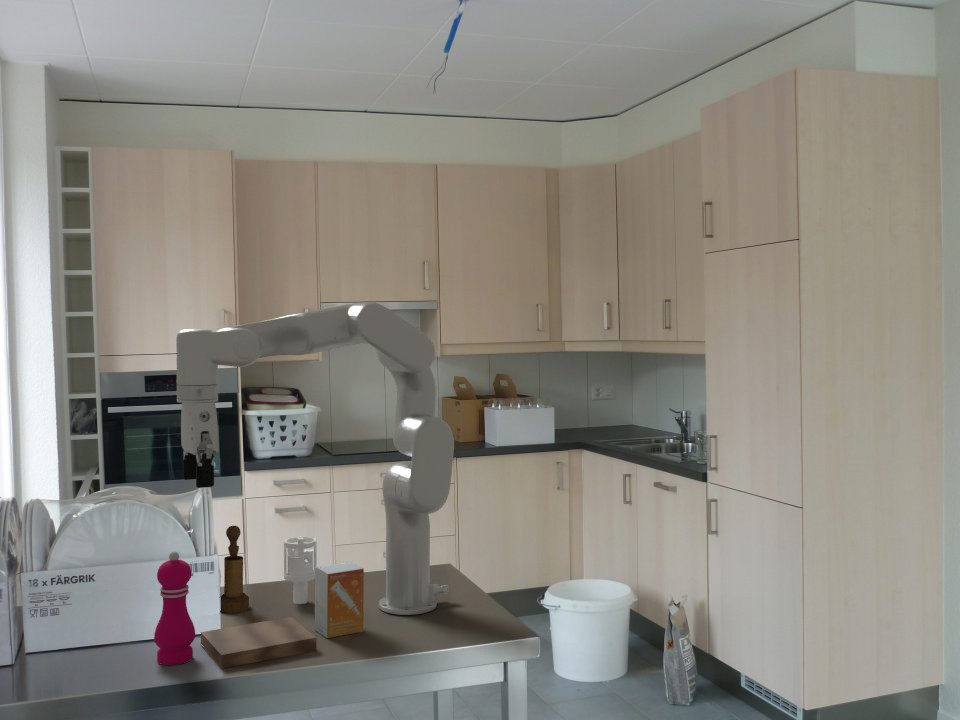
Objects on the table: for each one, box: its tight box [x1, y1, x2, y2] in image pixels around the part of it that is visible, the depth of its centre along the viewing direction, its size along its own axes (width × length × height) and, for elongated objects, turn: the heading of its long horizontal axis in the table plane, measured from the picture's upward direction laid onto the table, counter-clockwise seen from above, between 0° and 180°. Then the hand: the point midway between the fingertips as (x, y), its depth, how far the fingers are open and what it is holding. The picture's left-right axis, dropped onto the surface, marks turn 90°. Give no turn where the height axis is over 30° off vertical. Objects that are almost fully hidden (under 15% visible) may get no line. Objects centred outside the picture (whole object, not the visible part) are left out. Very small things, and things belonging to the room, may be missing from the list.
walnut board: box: [200, 616, 317, 669], centre depth 176 cm, size 18×14×2 cm
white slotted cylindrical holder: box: [283, 535, 317, 605], centre depth 205 cm, size 7×7×15 cm
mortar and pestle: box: [220, 525, 250, 614], centre depth 200 cm, size 7×6×18 cm
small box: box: [314, 561, 365, 639], centre depth 186 cm, size 8×6×13 cm
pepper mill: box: [153, 551, 196, 666], centre depth 170 cm, size 7×7×20 cm
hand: (198, 482), depth 177 cm, fingers open, 9 cm apart
